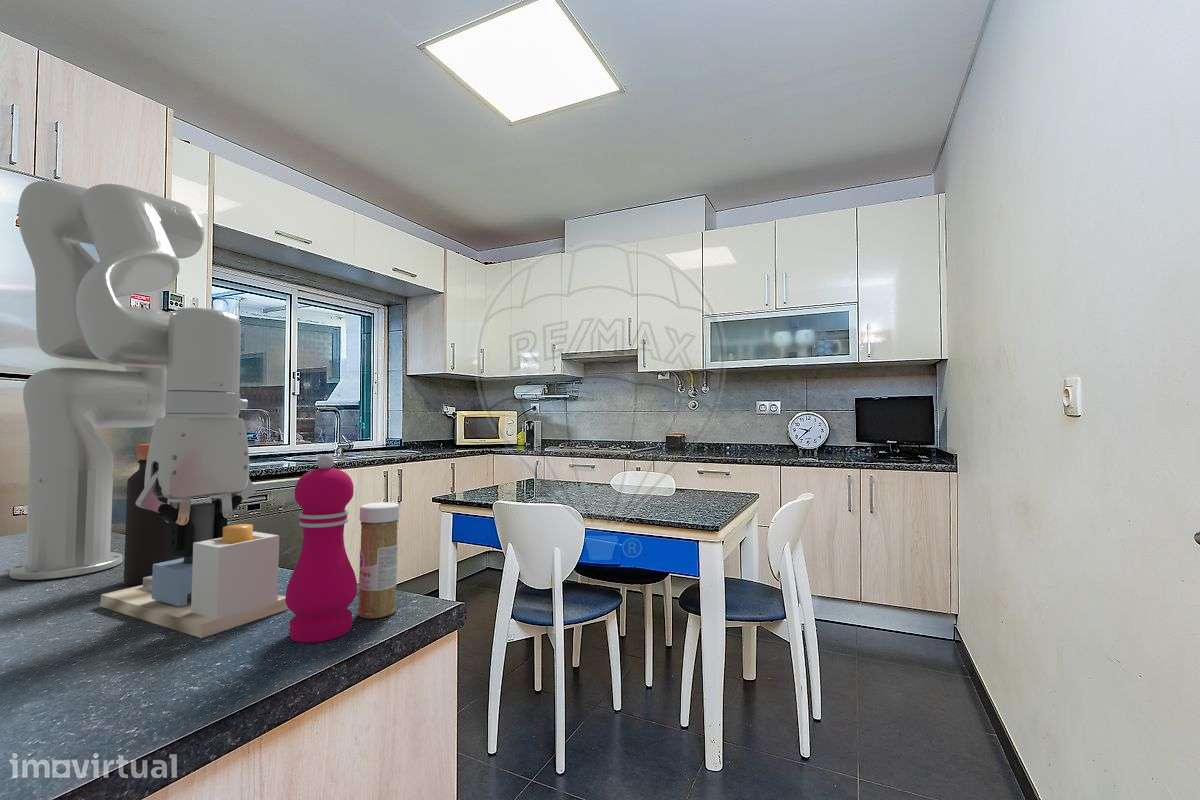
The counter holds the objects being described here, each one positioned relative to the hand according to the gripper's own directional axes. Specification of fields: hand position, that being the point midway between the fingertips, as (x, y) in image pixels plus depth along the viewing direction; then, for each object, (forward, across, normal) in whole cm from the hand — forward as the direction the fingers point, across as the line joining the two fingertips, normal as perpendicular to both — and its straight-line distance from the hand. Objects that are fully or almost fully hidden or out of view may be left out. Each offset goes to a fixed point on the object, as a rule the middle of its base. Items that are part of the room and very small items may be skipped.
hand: (198, 550), depth 68 cm
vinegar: (+7, -4, -19) cm, 20 cm away
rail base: (+7, 0, -1) cm, 7 cm away
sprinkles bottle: (+7, -9, +21) cm, 24 cm away
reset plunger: (0, 0, +8) cm, 8 cm away
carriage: (+5, 0, 0) cm, 5 cm away
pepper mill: (+7, -2, +20) cm, 22 cm away
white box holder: (+6, 0, +8) cm, 10 cm away
